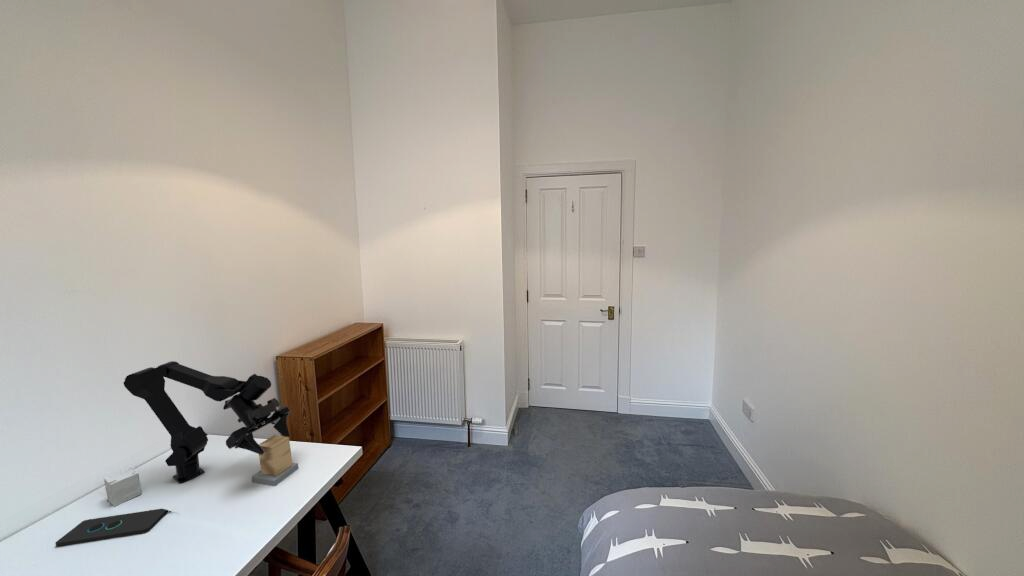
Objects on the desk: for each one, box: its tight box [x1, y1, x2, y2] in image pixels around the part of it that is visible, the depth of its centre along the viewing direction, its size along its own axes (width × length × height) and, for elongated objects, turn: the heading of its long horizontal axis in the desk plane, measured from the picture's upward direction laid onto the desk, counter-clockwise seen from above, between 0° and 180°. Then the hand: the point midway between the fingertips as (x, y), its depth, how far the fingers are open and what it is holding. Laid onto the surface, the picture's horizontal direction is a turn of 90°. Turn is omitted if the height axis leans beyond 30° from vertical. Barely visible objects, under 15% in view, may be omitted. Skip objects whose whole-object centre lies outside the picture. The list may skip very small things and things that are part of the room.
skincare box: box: [103, 467, 143, 507], centre depth 107 cm, size 6×6×7 cm
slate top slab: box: [250, 461, 299, 487], centre depth 115 cm, size 9×9×2 cm
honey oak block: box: [258, 434, 293, 477], centre depth 114 cm, size 6×6×10 cm
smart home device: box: [54, 508, 169, 548], centre depth 95 cm, size 8×2×20 cm
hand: (276, 445), depth 113 cm, fingers open, 9 cm apart
